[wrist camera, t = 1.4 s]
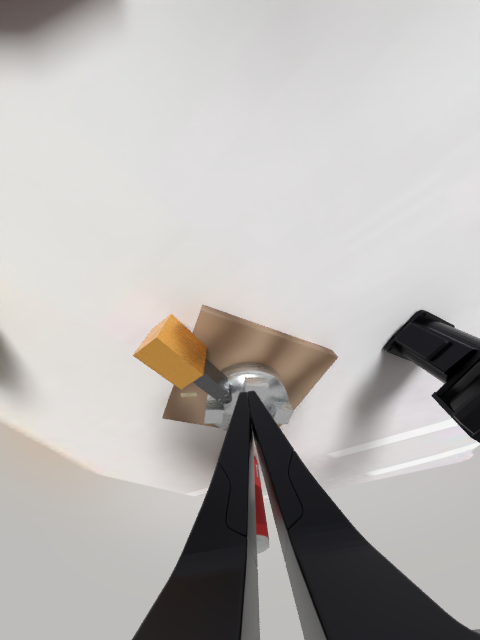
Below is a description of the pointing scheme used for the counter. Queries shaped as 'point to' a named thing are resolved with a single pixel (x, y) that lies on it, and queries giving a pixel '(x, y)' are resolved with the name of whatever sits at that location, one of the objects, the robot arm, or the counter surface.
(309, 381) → the board
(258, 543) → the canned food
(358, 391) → the counter surface
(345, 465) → the counter surface
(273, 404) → the silver tabbed disc tool
